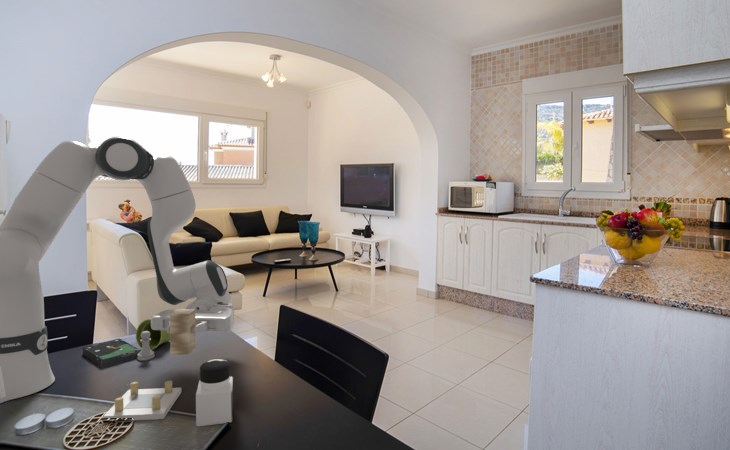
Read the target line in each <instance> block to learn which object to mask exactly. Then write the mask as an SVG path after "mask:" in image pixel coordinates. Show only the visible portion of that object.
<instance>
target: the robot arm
mask: <svg viewBox="0 0 730 450" xmlns="http://www.w3.org/2000/svg"><path fill="white" fill-rule="evenodd" d="M100 176H101V177H106V178H110V179H112V180H116V181H128V180H129V181H130V180H136V181H138V182H139V183H140V184H141V185H142V186H143V188H144V190H145V191H146V194H147V197H148V199H149V201H150V204H151V208H152V209H151V211H152V212H151V213H152V214H151V219H150V220H148V222H147V226H146V227H147V236H148V242H149V248H150V253H151V257H152V262H153V266H154V267H153V268H154V271H155V276H156V291H157V293H158V297H159V298H160V299H161V300H162V301H163V302H165V303H167V304H169V305H172V306H177V305H180V304H182V303H185V302H187V301H189V300H192V299H194V300H193V301H191V302H190V303H188V304H187V306H186V307H185V309H196V325H193V326H191V334H196V335H197V334H199V333H201V332H202V333H203V332H229V331H231V330H232V329H233V327H234V320H235V319H234V318H235V317H234V316H235V314H234V313H235V311H234V304H233V303H232V297H231V294H230V293H229V291H228V287H229V286H228V279H227V275H226V274H225V270H224V269H223V268H222V266H221V265H219V264H218V263H216V262H215V261H213V260H210V259H209V260H208V259H207V260H204V261H201V262H198V263H194V264H191V265H188V266H184V267H181V268H176V267H175V266H174V263H173V257H172V253H171V248H170V247H171V246H170V238H171V237H172V235H173V233H175V232H176V231H177V230H178V229H179V228H181V227H182V226H184V225H185V224H186V223H188V222H189V220H191V218H192V217H193V216H194V213H195V211H196V207H197V205H196V200H195V196H194V194H193V190H192V189H191V185H190V183H189V181H188V179H187V176H186V175H185V173H184V171H183V169H182V168H181V166H180V164H179V163H178V161H177V160H176V159H175V157H173V156H170V155H165V154H164V155H163V154H161V155H155V156H154V155H153V154H152V153H151V152H149V151H148V150H147V149H145V147H143V146H142V145H141V144H139V143H138V142H137V141H136V140H133V139H132V138H130V137H126V136H111V137H110V138H107V139H106V140H104V141H103V142H102V143H101V144H100V145H99V146H96V147H92V146H88V145H87V144H84V143H82V142H80V141H75V140H65V141H62V142H60V143H59V144H58V145H56V146H55V147H54V148H53V149H52V150H51V151H50V152H49V153H48V154H47V155H46V156H45V157H44V158H43V160H42V161H41V162H40V163H39V164H38V166H37V167H36V169H35V170H34V171H33V173H32V174H31V176H30V177H29V178H28V180H27V181H26V182H25V184H24V186H23V187H22V188H21V190H20V191H19V192H18V194H17V195H16V197H15V199H14V200H13V203H12V205H11V207H10V209H9V210H8V212H7V214H6V215H5V217H4V219H3V220H2V222H1V224H0V404H2V403H4V402H7V401H10V400H14V399H19V398H22V397H26V396H29V395H32V394H35V393H37V392H40V391H42V390H44V389H46V388H48V387H50V386H51V385H52V384H53V383H54V382H55V381H56V377H55V375H54V373H53V371H52V369H51V364H50V361H49V356H48V350H47V349H48V341H49V340H48V328H47V326H46V325H45V302H44V292H43V288H42V283H41V276H40V266H39V262H40V261H41V260H42V259H43V258H44V255H45V254H46V253H47V251H48V249H49V248H50V246H51V245H52V243H53V242H54V241H55V239H56V237H57V235H58V234H59V232H60V231H61V229H62V228H63V226H64V224H65V222H66V221H67V220H68V218H69V216H70V215H71V213H72V212H73V210H74V209H75V208H76V207H77V205H78V203H79V202H80V200H81V199H82V197H83V195H84V194H85V192H86V191H87V190H88V188H89V187H90V185H91V184H92V182H94V180H95V179H97V178H99V177H100ZM175 310H176V309H165V310H162V311H159V312H157V313H155V314H153V315H152V316H151V317H150V319H151V328H152V329H153V330H167V333H170V314H171V313H172V312H174V311H175Z"/></svg>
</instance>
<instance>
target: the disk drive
mask: <svg viewBox="0 0 730 450" xmlns="http://www.w3.org/2000/svg"><path fill="white" fill-rule="evenodd" d="M140 351H141V350H139V349H138V348H137V347H136V346H134V345H133V344H130V343H128V342H127V341H125V340H123V339H122V338H121V339H120V338H116V339H112V340H111V339H110V340H107V341H103V342H99V343H97V344H96V345H92V344H90V345H86V346H83V347H82V355H84V356H85V358H87V359H89V360H90V361H92V362H94V363H95V364H96V365H98V366H99V367H101V368H104V367H108V366H111V365H115V364H120V363H123V362H126V361H129V360H134V359H137V357H138V355H137V354H138V353H140Z"/></svg>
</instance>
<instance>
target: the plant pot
mask: <svg viewBox="0 0 730 450" xmlns="http://www.w3.org/2000/svg"><path fill="white" fill-rule="evenodd" d="M135 331H136V332H135V340H136V342H137V345H138V346H139V348H141V349H142V342H141V341H140V340H141V339H142V338H141V333H142V332H143V331H149V332H150V337H149V338H151V340H150V341H149V347H150V349H151V350H152V351H154V350H155V349H157V348H158V347H159V346H160V345H162V344H164V343H167V342H170V333H167V330H153V329H152V328H151V318H150V319H149V318H148V319H144V320H142V321H141V322H140V324H139V325H138V326H137V329H136V330H135Z"/></svg>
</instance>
